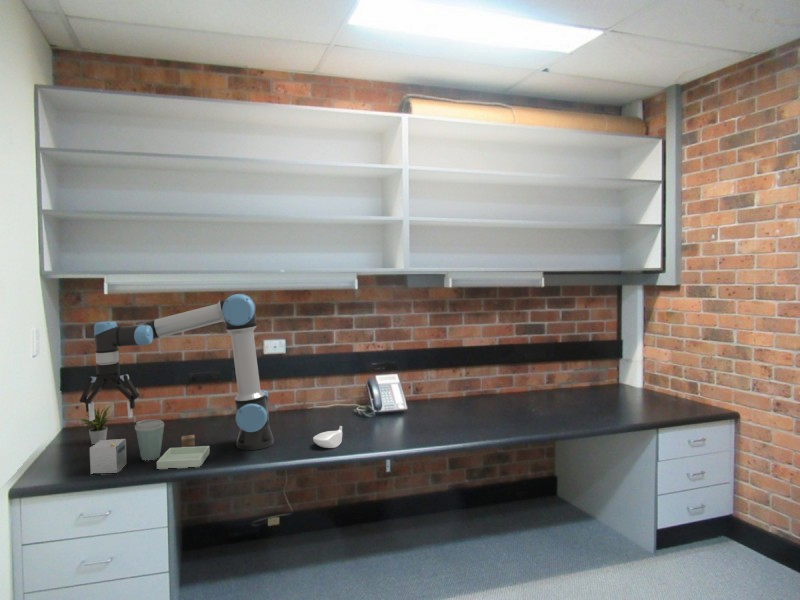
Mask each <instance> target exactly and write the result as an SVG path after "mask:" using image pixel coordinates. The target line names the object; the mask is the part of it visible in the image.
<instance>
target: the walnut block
mask: <svg viewBox="0 0 800 600" xmlns="http://www.w3.org/2000/svg"><path fill="white" fill-rule="evenodd" d="M195 439H196V437H195V434H189V435H182V436H181V447H196V441H195Z"/></svg>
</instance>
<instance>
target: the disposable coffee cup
mask: <svg viewBox="0 0 800 600" xmlns="http://www.w3.org/2000/svg"><path fill="white" fill-rule="evenodd" d="M164 428H165V423H164V421H163V420H161V419H143V420H139V421H136V424H135V425H134V430H135V432H136V438H137V443H138V448H139V452H140V454H139V455H140V458H141V460H142V461H143V460H145V461H144V462H150V461H149V460H153V461H156V460H158V459H160V457H161V452H162V451H161V450H162V445H163V444H162V443H163V436H164V430H165V429H164ZM157 458H158V459H157ZM155 459H156V460H155ZM146 460H148V461H146Z"/></svg>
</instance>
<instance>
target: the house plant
mask: <svg viewBox="0 0 800 600" xmlns="http://www.w3.org/2000/svg"><path fill="white" fill-rule="evenodd" d="M111 407H113V405H109V406H107V407H106V406H105V407H104V408H103V409H101V413H100V407H98V406H97V409H96V408H95V407H94V415H95V419H94V420H92V421H89V419H86V418H77V420H79V421H81V422H83V423H81V424H80V427H81V426H83V425H88V426H89V427H91V428H89V429H88V434H89V438H90V443H91V445H92V444H96V443H97V442H99V441H100V440H107V435H108V434H107V433H108V427H107V426H105V424H107V423H108V422H110V420H111V418H109V417H108V413H110V411H111ZM78 412H79V413H80V411H78ZM83 415H86V416H87V417H88V418H89V412H87V411H84V412H83ZM108 419H109V420H108Z"/></svg>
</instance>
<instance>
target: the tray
mask: <svg viewBox="0 0 800 600" xmlns="http://www.w3.org/2000/svg"><path fill="white" fill-rule="evenodd" d="M210 451H211V449H210V445H203V446H201V445H200V446H195V447H182V446H180V447H169V448H168V449H167V450H166V451H165V452H164V453H163V455H161V456H160V457H159V458H158V459H157V460H156V470H157V469H159V470H169V469H168V468H177V469H187V468H188V467H195V468H201V467H202V465H203V464H204V462H205V461H206V459H207V458H208V456H209V455H210ZM200 466H201V467H200ZM188 469H189V468H188Z"/></svg>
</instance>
